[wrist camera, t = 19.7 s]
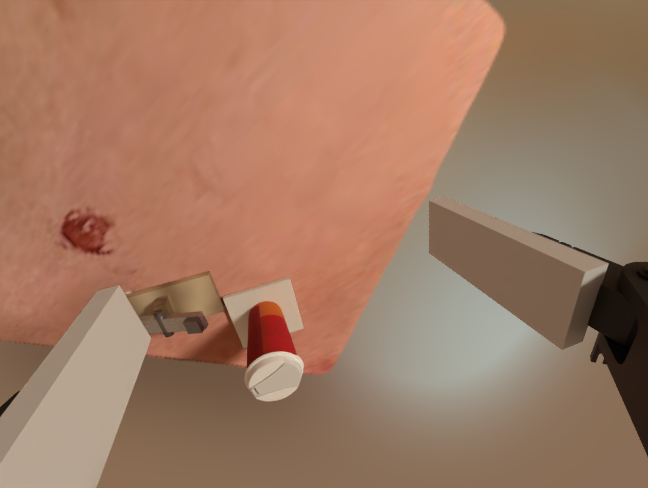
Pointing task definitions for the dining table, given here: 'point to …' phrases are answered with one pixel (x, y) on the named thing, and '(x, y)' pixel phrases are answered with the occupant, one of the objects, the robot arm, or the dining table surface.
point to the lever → (174, 322)
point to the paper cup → (271, 354)
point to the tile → (272, 292)
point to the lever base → (179, 297)
